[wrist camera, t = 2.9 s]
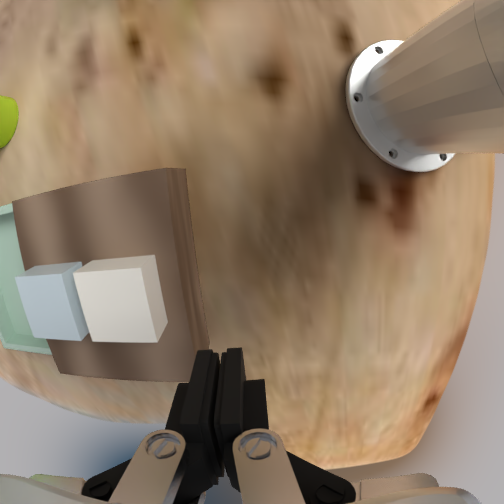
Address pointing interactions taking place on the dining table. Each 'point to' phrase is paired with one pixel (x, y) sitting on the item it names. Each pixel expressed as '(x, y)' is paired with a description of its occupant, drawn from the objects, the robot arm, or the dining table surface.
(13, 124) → the soap dispenser
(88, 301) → the cream square block
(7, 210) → the box
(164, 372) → the brown wooden block
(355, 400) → the dining table surface
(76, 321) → the pale blue square block
